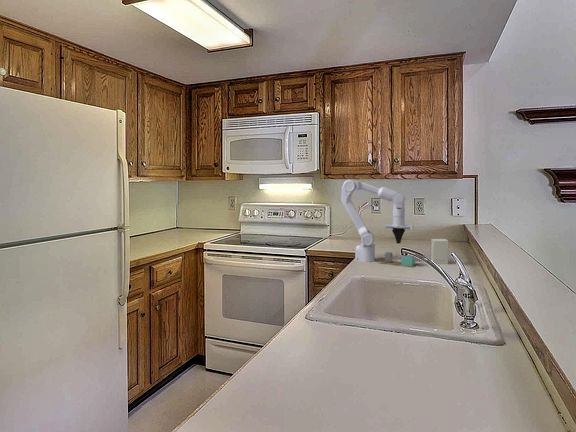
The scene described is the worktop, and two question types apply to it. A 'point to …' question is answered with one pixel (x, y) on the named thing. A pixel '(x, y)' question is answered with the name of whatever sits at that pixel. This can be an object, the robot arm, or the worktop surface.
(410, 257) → the aqua toy cube
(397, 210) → the robot arm
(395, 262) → the walnut board
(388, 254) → the post
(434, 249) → the supplement box
